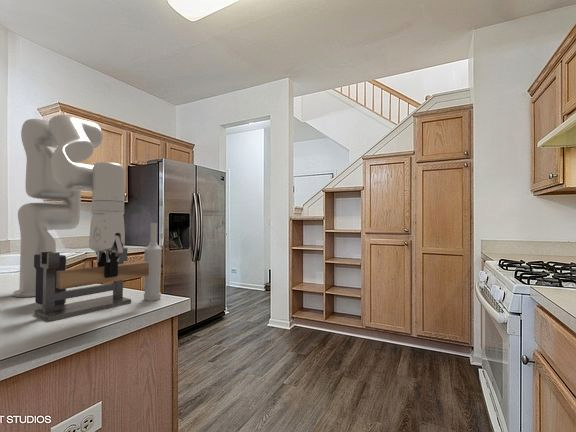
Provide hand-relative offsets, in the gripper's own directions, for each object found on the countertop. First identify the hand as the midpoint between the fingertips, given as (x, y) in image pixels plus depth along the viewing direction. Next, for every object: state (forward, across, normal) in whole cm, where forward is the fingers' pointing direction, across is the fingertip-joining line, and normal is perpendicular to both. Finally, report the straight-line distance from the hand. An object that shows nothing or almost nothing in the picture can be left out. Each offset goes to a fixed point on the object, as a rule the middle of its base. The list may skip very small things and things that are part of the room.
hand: (107, 275), depth 80 cm
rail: (+2, 0, 0) cm, 2 cm away
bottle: (+11, -6, +17) cm, 21 cm away
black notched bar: (+11, -26, -4) cm, 28 cm away
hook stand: (+11, -12, 0) cm, 16 cm away
